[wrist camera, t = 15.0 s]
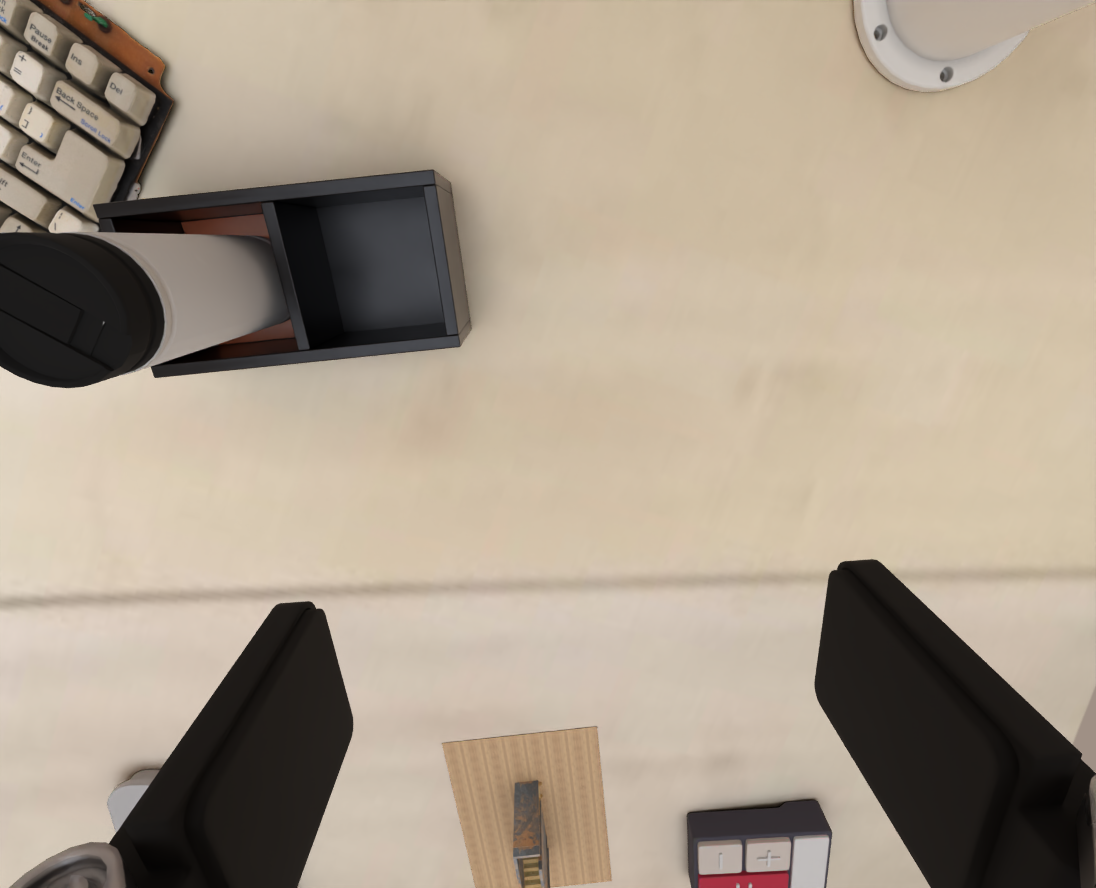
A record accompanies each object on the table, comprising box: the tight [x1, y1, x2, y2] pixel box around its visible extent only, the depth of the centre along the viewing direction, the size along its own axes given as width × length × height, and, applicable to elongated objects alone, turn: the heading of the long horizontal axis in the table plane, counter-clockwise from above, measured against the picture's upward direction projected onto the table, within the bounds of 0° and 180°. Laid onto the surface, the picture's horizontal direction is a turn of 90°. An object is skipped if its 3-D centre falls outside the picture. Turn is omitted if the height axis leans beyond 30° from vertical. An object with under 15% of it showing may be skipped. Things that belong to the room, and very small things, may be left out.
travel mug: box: [0, 232, 290, 388], centre depth 30 cm, size 6×7×20 cm
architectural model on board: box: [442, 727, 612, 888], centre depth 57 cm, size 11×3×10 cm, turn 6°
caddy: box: [93, 170, 472, 378], centre depth 37 cm, size 10×20×8 cm, turn 95°
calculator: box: [687, 800, 832, 888], centre depth 62 cm, size 11×4×15 cm
